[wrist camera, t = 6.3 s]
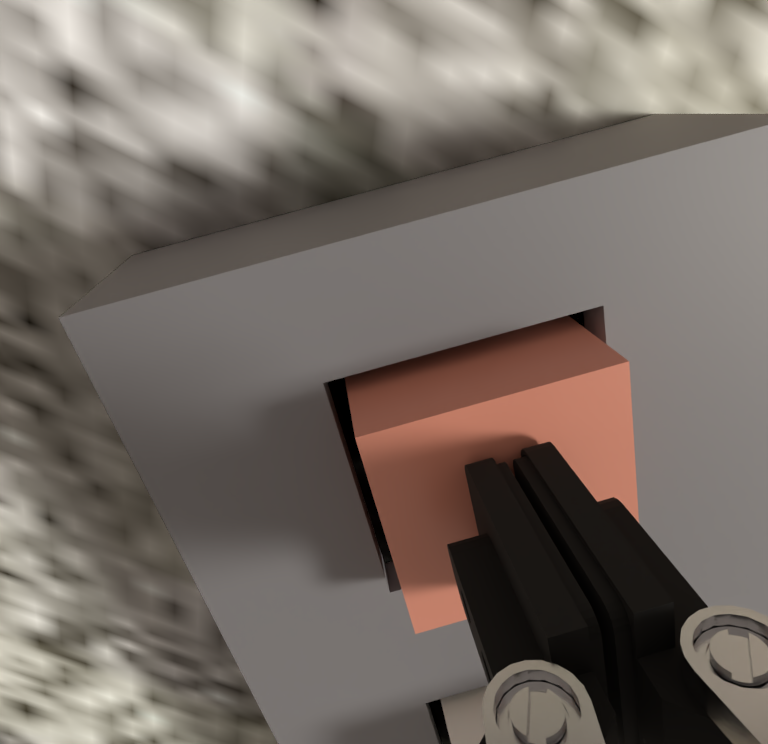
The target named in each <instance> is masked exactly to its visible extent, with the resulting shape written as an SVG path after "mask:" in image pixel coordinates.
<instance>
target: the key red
mask: <svg viewBox="0 0 768 744" xmlns="http://www.w3.org/2000/svg"><path fill="white" fill-rule="evenodd" d="M345 382H346V388H347V394H348V400H349V405H350V411H351V417H352V423H353V429H354V434H355V439H356V442H357V446H358V449H359V452H360V455H361V459H362V462H363V465H364V468H365V472H366V475H367V478H368V481H369V485H370V488H371V491H372V494H373V498H374V501H375V504H376V507H377V511H378V514H379V517H380V520H381V524H382V527H383V530H384V534H385V537H386V540H387V543H388V547H389V550H390V553H391V556H392V560H393V563H394V566H395V569H396V573H397V576H398V579H399V582H400V586H401V589H402V592H403V595H404V599H405V602H406V605H407V608H408V612H409V615H410V618H411V621H412V625H413V628H414V631H415V634H418V633H421V632H425V631H428V630H431V629H435V628H438V627H442V626H445V625H449V624H452V623H456V622H459V621H463V620H466V619H467V617H466V614H465V611H464V608H463V604H462V601H461V598H460V594H459V591H458V587H457V584H456V580H455V576H454V572H453V568H452V564H451V560H450V557H449V552H448V548H447V544H450V543H454V542H457V541H461V540H464V539H468V538H471V537H475V536H478V535H479V534H478V529H477V524H476V520H475V515H474V511H473V506H472V501H471V497H470V492H469V488H468V483H467V478H466V474H465V467H464V466H465V465H467V464H471V463H474V462H478V461H481V460H485V459H488V458H493V459H494V460H495V462H496V464H499V463H503V462H506V463H507V465H508V466H509V468H510V470H511V471H512V473H513V475H514V476H515V473H514V468H513V460H514V459H517V458H520V457H521V450H522V449H524V448H528V447H531V446H535V445H538V444H542V443H545V442H551V443H552V444H553V445H554V446H555V447H556V449H557V450H558V451H559V453H560V454H561V455H562V456H563V458H564V459H565V460H566V462H567V463H568V464H569V466H570V467H571V468H572V469H573V471H574V472H575V473H576V475H577V476H578V477H579V479H580V480H581V481H582V483H583V484H584V485H585V486H586V488H587V489H588V490H589V492H590V493H591V494H592V496H593V497H594V498H595V499H596V501H597V502H598V501H602V500H605V499H609V498H612V497H614V498H617V499H618V500H619V501H620V502H621V503H622V504H623V505H624V506H625V507H626V508H627V509H628V511H629V512H630V513H631V514H632V515H633V517H634V518H635V519H636V520H637V521H638V523H639V515H638V499H637V482H636V466H635V449H634V433H633V416H632V400H631V383H630V367H629V361H628V360H627V359H625V358H624V357H623V356H621V355H620V354H619V353H617V352H616V351H615V350H613V349H612V348H611V347H609V346H608V345H607V344H605V343H604V342H603V341H601V340H600V339H599V338H597V337H596V336H595V335H593V334H592V333H591V332H589V331H588V330H587V329H585V328H584V327H583V326H581V325H580V324H579V323H577V322H576V321H575V320H573V319H572V318H571V317H569V316H568V315H567V316H564V317H560V318H556V319H553V320H549V321H546V322H542V323H538V324H535V325H531V326H528V327H524V328H520V329H517V330H513V331H509V332H506V333H502V334H499V335H495V336H491V337H488V338H484V339H481V340H477V341H473V342H470V343H466V344H463V345H459V346H455V347H452V348H448V349H445V350H441V351H437V352H434V353H430V354H426V355H423V356H419V357H416V358H412V359H408V360H405V361H401V362H398V363H394V364H390V365H387V366H383V367H380V368H376V369H372V370H369V371H365V372H362V373H358V374H354V375H351V376H347V377H345Z"/></svg>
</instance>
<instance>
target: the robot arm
mask: <svg viewBox="0 0 768 744" xmlns="http://www.w3.org/2000/svg"><path fill="white" fill-rule="evenodd" d="M464 467H465V474H466V478H467V483H468V488H469V492H470V497H471V501H472V506H473V511H474V515H475V520H476V524H477V529H478V534H479V535H478V536H475V537H471V538H468V539H464V540H461V541H457V542H454V543H450V544H447V548H448V552H449V557H450V560H451V564H452V568H453V572H454V576H455V580H456V584H457V587H458V591H459V594H460V598H461V601H462V604H463V608H464V611H465V614H466V617H467V620H468V623H469V627H470V630H471V633H472V636H473V639H474V642H475V645H476V648H477V651H478V654H479V657H480V660H481V663H482V666H483V669H484V672H485V675H486V678H487V681H488V686H487V689H486V691H485V694H484V697H483V700H482V718H483V725H484V732H485V734H484V736H483V738H482V740H481V741H480V743H479V744H768V616H766V615H763V614H761V613H758V612H756V611H754V610H751V609H747V608H742V607H737V606H732V605H725V606H711V607H708V606H707V605H706V604H705V602H704V601H703V600H702V599H701V597H700V596H699V595H698V594H697V593H696V591H695V590H694V589H693V588H692V587H691V585H690V584H689V583H688V582H687V581H686V579H685V578H684V577H683V576H682V575H681V573H680V572H679V571H678V570H677V569H676V567H675V566H674V565H673V564H672V562H671V561H670V560H669V559H668V558H667V556H666V555H665V554H664V553H663V552H662V550H661V549H660V548H659V547H658V546H657V544H656V543H655V542H654V541H653V540H652V538H651V537H650V536H649V535H648V534H647V532H646V531H645V530H644V529H643V527H642V526H641V525H640V524H639V523H638V521H637V520H636V519H635V518H634V517H633V515H632V514H631V513H630V512H629V511H628V509H627V508H626V507H625V506H624V505H623V504H622V503H621V502H620V501H619V500H618V499H617V498H614V497H612V498H609V499H605V500H602V501H598V502H597V501H596V499H595V498H594V497H593V496H592V494H591V493H590V492H589V490H588V489H587V488H586V486H585V485H584V484H583V483H582V481H581V480H580V479H579V477H578V476H577V475H576V473H575V472H574V471H573V469H572V468H571V467H570V466H569V464H568V463H567V462H566V460H565V459H564V458H563V456H562V455H561V454H560V453H559V451H558V450H557V449H556V447H555V446H554V445H553V444H552V443H551V442H545V443H542V444H538V445H535V446H531V447H528V448H524V449H522V450H521V457H520V458H517V459H514V460H513V468H514V473H515V476H514V475H513V473H512V471H511V470H510V468H509V466H508V465H507V463H506V462H503V463H499V464H496V462H495V460H494V459H493V458H488V459H485V460H481V461H478V462H474V463H471V464H467V465H465V466H464Z"/></svg>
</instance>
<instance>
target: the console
mask: <svg viewBox="0 0 768 744" xmlns="http://www.w3.org/2000/svg"><path fill="white" fill-rule="evenodd" d="M582 311H583V314H584V324H585V329H587V330H588V331H589V332H591V333H592V334H593V335H595V336H596V337H597V338H599V339H600V340H601V341H603V342H604V343H605V344H607V345H608V346H609V347H611V348H612V349H613V350H615V351H616V352H617V353H619V354H620V355H621V356H623V357H624V358H625V359H627V360H628V361H629V367H630V383H631V400H632V416H633V433H634V449H635V466H636V482H637V499H638V515H639V524H640V525H641V526H642V527H643V529H644V530H645V531H646V532H647V534H648V535H649V536H650V537H651V538H652V540H653V541H654V542H655V543H656V544H657V546H658V547H659V548H660V549H661V550H662V552H663V553H664V554H665V555H666V556H667V558H668V559H669V560H670V561H671V562H672V564H673V565H674V566H675V567H676V569H677V570H678V571H679V572H680V573H681V575H682V576H683V577H684V578H685V579H686V581H687V582H688V583H689V584H690V585H691V587H692V588H693V589H694V590H695V591H696V593H697V594H698V595H699V596H700V597H701V599H702V600H703V601H704V602H705V604H706V605H707V606H708V607H711V606H725V605H732V606H737V607H742V608H747V609H751V610H754V611H756V612H758V613H761V614H763V615H766V616H768V114H653V115H650V116H646V117H642V118H639V119H635V120H631V121H627V122H624V123H620V124H616V125H613V126H609V127H605V128H601V129H598V130H594V131H590V132H587V133H583V134H579V135H576V136H572V137H568V138H564V139H561V140H557V141H553V142H550V143H546V144H542V145H539V146H535V147H531V148H527V149H524V150H520V151H516V152H513V153H509V154H505V155H502V156H498V157H494V158H490V159H487V160H483V161H479V162H476V163H472V164H468V165H465V166H461V167H457V168H453V169H450V170H446V171H442V172H439V173H435V174H431V175H428V176H424V177H420V178H416V179H413V180H409V181H405V182H402V183H398V184H394V185H391V186H387V187H383V188H379V189H376V190H372V191H368V192H365V193H361V194H357V195H353V196H350V197H346V198H342V199H339V200H335V201H331V202H328V203H324V204H320V205H316V206H313V207H309V208H305V209H302V210H298V211H294V212H291V213H287V214H283V215H279V216H276V217H272V218H268V219H265V220H261V221H257V222H254V223H250V224H246V225H242V226H239V227H235V228H231V229H228V230H224V231H220V232H217V233H213V234H209V235H205V236H202V237H198V238H194V239H191V240H187V241H183V242H180V243H176V244H172V245H168V246H165V247H161V248H157V249H154V250H150V251H146V252H142V253H139V254H135V255H132V256H131V257H130V258H128V259H127V260H126V261H125V262H124V263H122V264H121V265H120V266H119V267H118V268H117V269H115V270H114V271H113V272H112V273H111V274H109V275H108V276H107V277H106V278H105V279H104V280H102V281H101V282H100V283H99V284H98V285H96V286H95V287H94V288H93V289H92V290H91V291H89V292H88V293H87V294H86V295H85V296H83V297H82V298H81V299H80V300H79V301H78V302H76V303H75V304H74V305H73V306H72V307H70V308H69V309H68V310H67V311H66V312H65V313H63V314H62V315H61V316H60V317H59V320H60V322H61V324H62V326H63V328H64V330H65V332H66V334H67V336H68V338H69V339H70V341H71V343H72V345H73V347H74V349H75V351H76V353H77V355H78V357H79V359H80V361H81V363H82V365H83V367H84V369H85V371H86V372H87V374H88V376H89V378H90V380H91V382H92V384H93V386H94V388H95V390H96V392H97V394H98V396H99V398H100V400H101V402H102V403H103V405H104V407H105V409H106V411H107V413H108V415H109V417H110V419H111V421H112V423H113V425H114V427H115V429H116V431H117V433H118V435H119V436H120V438H121V440H122V442H123V444H124V446H125V448H126V450H127V452H128V454H129V456H130V458H131V460H132V462H133V464H134V466H135V467H136V469H137V471H138V473H139V475H140V477H141V479H142V481H143V483H144V485H145V487H146V489H147V491H148V493H149V495H150V497H151V498H152V500H153V502H154V504H155V506H156V508H157V510H158V512H159V514H160V516H161V518H162V520H163V522H164V524H165V526H166V528H167V530H168V531H169V533H170V535H171V537H172V539H173V541H174V543H175V545H176V547H177V549H178V551H179V553H180V555H181V557H182V559H183V561H184V562H185V564H186V566H187V568H188V570H189V572H190V574H191V576H192V578H193V580H194V582H195V584H196V586H197V588H198V590H199V592H200V594H201V595H202V597H203V599H204V601H205V603H206V605H207V607H208V609H209V611H210V613H211V615H212V617H213V619H214V621H215V623H216V625H217V626H218V628H219V630H220V632H221V634H222V636H223V638H224V640H225V642H226V644H227V646H228V648H229V650H230V652H231V654H232V656H233V657H234V659H235V661H236V663H237V665H238V667H239V669H240V671H241V673H242V675H243V677H244V679H245V681H246V683H247V685H248V687H249V689H250V690H251V692H252V694H253V696H254V698H255V700H256V702H257V704H258V706H259V708H260V710H261V712H262V714H263V716H264V718H265V720H266V721H267V723H268V725H269V727H270V729H271V731H272V733H273V735H274V737H275V739H276V741H277V743H278V744H442V743H441V740H440V737H439V734H438V731H437V727H436V724H435V721H434V718H433V715H432V712H431V708H430V705H429V702H432V701H435V700H439V699H442V698H446V697H449V696H452V695H456V694H459V693H463V692H466V691H470V690H473V689H477V688H480V687H483V686H487V685H488V681H487V678H486V675H485V672H484V669H483V666H482V663H481V660H480V657H479V654H478V651H477V648H476V645H475V642H474V639H473V636H472V633H471V630H470V627H469V623H468V620H467V619H466V620H463V621H459V622H456V623H452V624H449V625H445V626H442V627H438V628H435V629H431V630H428V631H425V632H421V633H418V634H415V631H414V628H413V625H412V621H411V618H410V615H409V612H408V608H407V605H406V602H405V599H404V595H403V592H402V589H401V586H400V582H399V579H398V576H397V573H396V569H395V566H394V563H393V561H391V562H388V563H384V560H383V557H382V554H381V551H380V547H379V544H378V541H377V538H376V535H375V532H374V528H373V525H372V522H371V519H370V516H369V513H368V510H367V506H366V503H365V500H364V497H363V494H362V491H361V487H360V484H359V481H358V478H357V475H356V472H355V469H354V465H353V462H352V459H351V456H350V453H349V450H348V446H347V443H346V440H345V437H344V434H343V431H342V427H341V424H340V421H339V418H338V415H337V412H336V409H335V405H334V402H333V399H332V396H331V393H330V390H329V386H328V383H327V382H329V381H333V380H336V379H340V378H343V377H347V376H351V375H354V374H358V373H362V372H365V371H369V370H372V369H376V368H380V367H383V366H387V365H390V364H394V363H398V362H401V361H405V360H408V359H412V358H416V357H419V356H423V355H426V354H430V353H434V352H437V351H441V350H445V349H448V348H452V347H455V346H459V345H463V344H466V343H470V342H473V341H477V340H481V339H484V338H488V337H491V336H495V335H499V334H502V333H506V332H509V331H513V330H517V329H520V328H524V327H528V326H531V325H535V324H538V323H542V322H546V321H549V320H553V319H556V318H560V317H564V316H567V315H571V314H574V313H578V312H582Z"/></svg>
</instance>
